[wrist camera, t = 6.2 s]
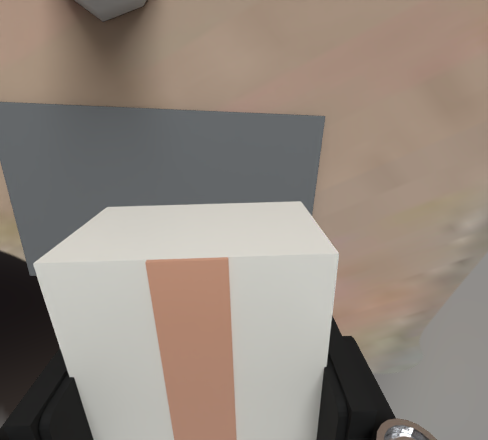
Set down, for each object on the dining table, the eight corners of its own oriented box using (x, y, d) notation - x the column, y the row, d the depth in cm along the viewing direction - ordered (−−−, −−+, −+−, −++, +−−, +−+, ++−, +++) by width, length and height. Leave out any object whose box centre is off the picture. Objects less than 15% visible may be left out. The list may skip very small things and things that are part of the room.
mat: (33, 272, 25) (30, 275, 25) (-10, 101, 20) (-16, 101, 20) (302, 276, 27) (303, 279, 26) (323, 116, 22) (325, 116, 21)
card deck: (107, 207, 9) (28, 266, 5) (301, 201, 9) (340, 256, 6) (148, 410, 12) (114, 525, 9) (290, 403, 12) (311, 515, 9)
